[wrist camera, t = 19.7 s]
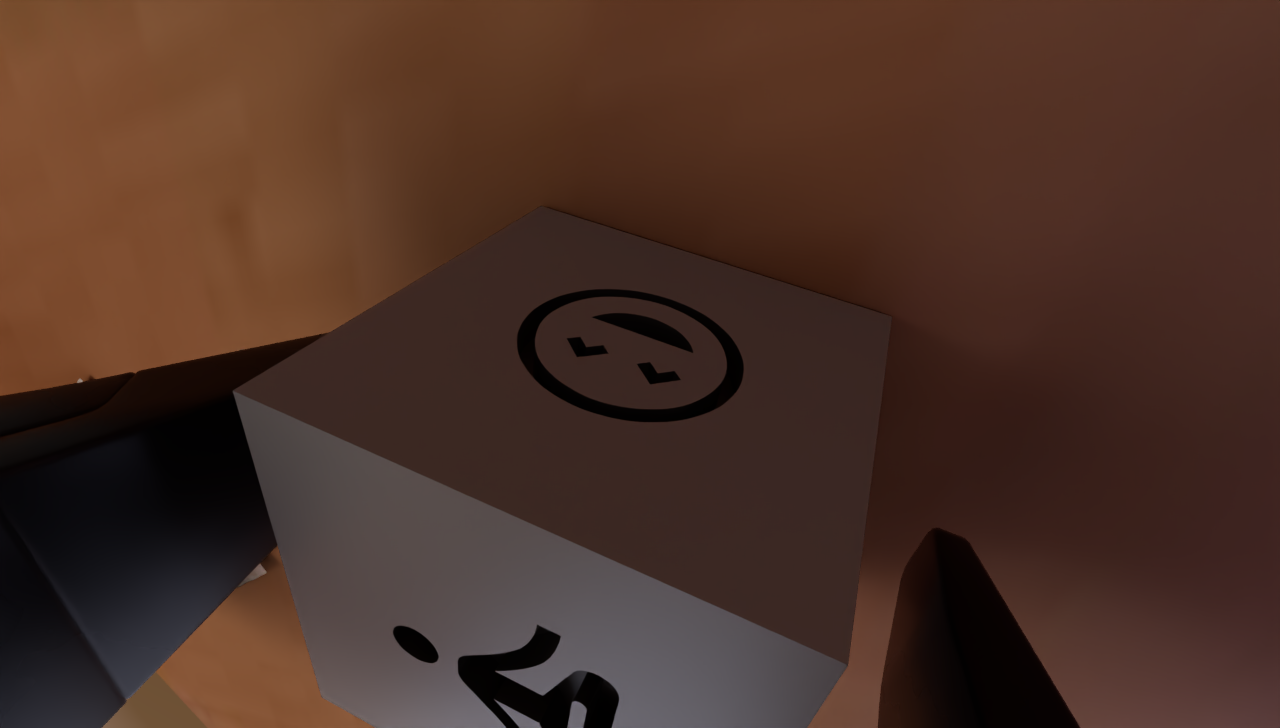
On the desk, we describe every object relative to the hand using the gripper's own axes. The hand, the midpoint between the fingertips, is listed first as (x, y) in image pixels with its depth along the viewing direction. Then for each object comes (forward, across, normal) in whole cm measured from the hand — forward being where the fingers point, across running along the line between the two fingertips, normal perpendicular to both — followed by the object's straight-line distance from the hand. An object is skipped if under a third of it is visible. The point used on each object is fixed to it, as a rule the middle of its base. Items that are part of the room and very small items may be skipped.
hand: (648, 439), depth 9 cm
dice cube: (+1, 0, 0) cm, 1 cm away
